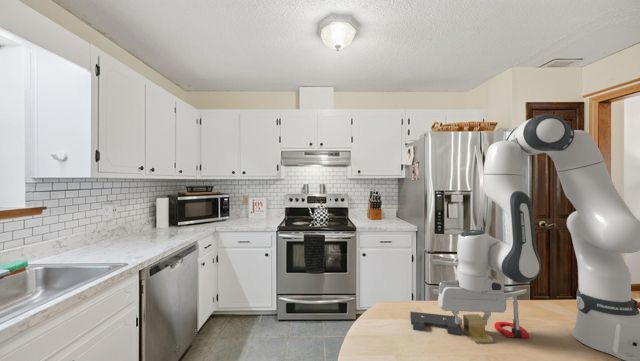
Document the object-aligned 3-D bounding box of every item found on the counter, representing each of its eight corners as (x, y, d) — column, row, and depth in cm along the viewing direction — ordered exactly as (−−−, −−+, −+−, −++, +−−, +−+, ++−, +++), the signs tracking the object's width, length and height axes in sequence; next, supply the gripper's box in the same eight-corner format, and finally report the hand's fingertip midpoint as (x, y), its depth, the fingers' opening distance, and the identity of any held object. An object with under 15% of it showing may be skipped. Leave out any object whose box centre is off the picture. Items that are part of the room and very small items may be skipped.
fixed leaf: (455, 319, 100) (455, 312, 100) (461, 335, 90) (461, 327, 90) (410, 314, 104) (410, 307, 104) (411, 329, 94) (411, 321, 94)
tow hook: (490, 324, 98) (503, 337, 88) (488, 285, 98) (501, 295, 89) (517, 326, 96) (533, 339, 87) (515, 286, 97) (531, 296, 88)
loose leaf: (478, 329, 93) (478, 314, 93) (492, 342, 86) (492, 326, 86) (463, 330, 93) (463, 314, 93) (475, 343, 86) (475, 326, 86)
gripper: (443, 283, 89) (441, 328, 89) (510, 285, 89) (509, 330, 89) (435, 276, 95) (434, 318, 95) (497, 278, 95) (496, 320, 95)
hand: (470, 324), depth 92 cm, fingers open, 6 cm apart
